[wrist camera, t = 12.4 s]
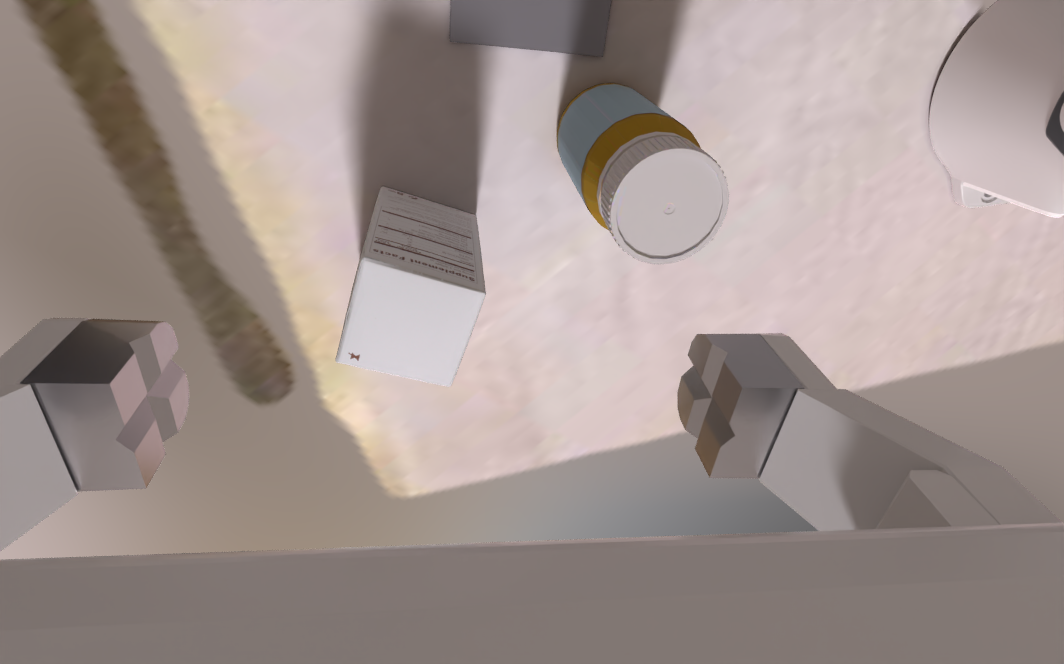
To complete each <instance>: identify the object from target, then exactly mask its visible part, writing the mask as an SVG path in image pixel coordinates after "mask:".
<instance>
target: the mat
mask: <svg viewBox="0 0 1064 664" xmlns="http://www.w3.org/2000/svg"><path fill="white" fill-rule="evenodd" d="M610 6H611V0H451V14H450V42H459V43H469V44H479V45H489V46H499V47H509V48H519V49H530V50H540V51H550V52H560V53H570V54H580V55H591V56H601V57H603V52H604V46H605V39H606V33H607V26H608V19H609V13H610Z"/></svg>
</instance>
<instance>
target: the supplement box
mask: <svg viewBox="0 0 1064 664" xmlns="http://www.w3.org/2000/svg"><path fill="white" fill-rule="evenodd" d="M485 296H486V291H485V281H484V274H483V265H482V256H481V248H480V240H479V232H478V224H477V217H476V215H474V214H470V213H467V212H464V211H461V210H458V209H454V208H451V207H448V206H445V205H442V204H438V203H436V202H432V201H429V200H426V199H423V198H420V197H417V196H413V195H410V194H407V193H404V192H400V191H397V190H394V189H391V188H387V187H384V186H382V187H381V188H380V191H379V195H378V198H377V201H376V204H375V207H374V211H373V214H372V218H371V221H370V225H369V229H368V232H367V236H366V239H365V243H364V246H363V250H362V253H361V257H360V261H359V264H358V268H357V272H356V276H355V279H354V283H353V287H352V291H351V296H350V300H349V304H348V309H347V313H346V317H345V322H344V326H343V331H342V335H341V339H340V344H339V348H338V352H337V356H336V362H337V363H342V364H347V365H351V366H355V367H359V368H363V369H368V370H373V371H377V372H382V373H386V374H391V375H396V376H400V377H404V378H409V379H414V380H418V381H423V382H427V383H432V384H436V385H441V386H447V387H450V386H451V385H452V383H453V381H454V378H455V376H456V373H457V371H458V368H459V366H460V363H461V360H462V358H463V355H464V352H465V350H466V347H467V344H468V342H469V339H470V336H471V334H472V331H473V328H474V326H475V323H476V320H477V318H478V315H479V312H480V310H481V307H482V304H483V301H484V298H485Z"/></svg>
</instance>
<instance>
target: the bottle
mask: <svg viewBox="0 0 1064 664" xmlns="http://www.w3.org/2000/svg"><path fill="white" fill-rule="evenodd" d="M557 148H558V152H559V155H560V157H561V160H562V163H563V165H564V167H565V168H566V170H567V172H568V174H569V176H570V177H571V179H572V181H573V183H574V185H575V186H576V188H577V190H578V192H579V194H580V196H581V197H582V199H583V201H584V203H585V205H586V206H587V208H588V210H589V211H590V213H591V214H592V215H593V217H594V218H595V219H596V220H597V222H598V223H599V224H600V225H601V226H603V227H604V228H606V229H607V230H609V231H610V233H611V234H612V236H613V238H614V240H615V241H616V243H617V244H618V245H619V247H620V248H622V249H623V251H624V252H626V253H627V254H628V255H629V256H632V257H633V258H635V259H637V260H639V261H642V262H645V263H650V264H669V263H674V262H678V261H681V260H684V259H686V258H688V257H690V256H692V255H694V254H695V253H697V252H698V251H700V250H701V249H702V248H703V247H705V246H706V245H707V244H708V243H709V242H710V241H711V240H712V239H713V237H714V236H715V235H716V233H717V232H718V230H719V229H720V227H721V225H722V223H723V221H724V219H725V216H726V213H727V209H728V203H729V190H728V184H727V181H726V177H725V176H724V172H723V171H722V170H721V169H720V166H719V165H718V164H717V162H716V161H715V160H714V159H713V158H712V157H711V156H710V155H708V154H707V153H706V152H704V151H703V150H702V149H701V148H700V145H699V143H698V142H697V140H696V139H695V137H694V136H693V134H692V133H691V132H690V131H689V130H688V129H687V128H686V127H685V126H684V125H682V124H681V123H679V122H678V121H677V120H675V119H674V118H672V117H671V116H670V115H668V114H667V113H665V112H664V111H663V110H661V109H660V108H659V107H657V106H656V105H654V104H653V103H652V102H650V101H649V100H647V99H646V98H645V97H643V96H642V95H640V94H639V93H638V92H636V91H635V90H634V89H631V88H630V87H627V86H624V85H620V84H617V83H606V84H598V85H595V86H593V87H590V88H588V89H586V90H584V91H582V92H581V93H580V94H579V95H577V96H576V97H575V98H574V99H573V100H572V101H571V102H570V103H569V104H568V106H567V108H566V109H565V111H564V112H563V114H562V116H561V118H560V122H559V126H558V129H557Z"/></svg>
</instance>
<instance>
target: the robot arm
mask: <svg viewBox="0 0 1064 664" xmlns="http://www.w3.org/2000/svg"><path fill="white" fill-rule="evenodd" d="M929 131H930V138H931V142H932V146H933V148H934V151H935V153H936V155H937V157H938V158H939V160H940V161H941V162H942V164H943V165H944V166H945V167H946V169H947V170H948V172H949V174H950V176H951V185H952V194H953V198H954V201H955V202H956V203H957V204H958V205H961V206H964V207H967V208H979V207H986V206H993V205H1000V204H1007V203H1013V204H1016V205H1018V206H1021V207H1024V208H1026V209H1029V210H1032V211H1035V212H1038V213H1040V214H1043V215H1046V216H1050V217H1055V218H1060V217H1062V216H1063V215H1064V0H997V1H996V2H995V3H994V4H993V5H991V6H990V7H989V8H988V9H987V10H986V11H985V12H984V13H983V14H982V15H981V16H980V17H979V18H978V19H977V20H976V21H975V22H974V23H973V25H972V26H971V27H970V28H969V29H968V30H967V32H966V33H965V34H964V36H963V37H962V38H961V40H960V41H959V42H958V44H957V45H956V47H955V48H954V50H953V52H952V53H951V55H950V57H949V58H948V60H947V62H946V64H945V66H944V68H943V70H942V72H941V74H940V77H939V79H938V82H937V85H936V87H935V90H934V94H933V98H932V102H931V108H930V116H929ZM178 348H179V346H178V343H177V339H176V336H175V333H174V329H173V328H172V327H171V326H170V325H169V324H168V323H167V322H163V321H138V320H137V321H136V320H113V319H87V318H50V319H43V320H42V321H40V322H39V323H38V324H37V325H36V326H35V327H34V328H33V329H32V330H30V331H29V332H28V333H27V334H26V335H25V336H24V337H22V338H21V339H20V340H19V341H18V342H17V343H16V344H14V346H12V347H11V348H10V349H9V350H8V351H7V352H5V353H4V354H3V355H2V356H1V357H0V551H2V550H3V549H4V548H6V547H7V546H8V545H10V544H11V543H12V542H14V541H15V540H17V539H18V538H19V537H21V536H22V535H23V534H25V533H26V532H28V531H29V530H30V529H32V528H33V527H34V526H36V525H37V524H38V523H40V522H41V521H43V520H44V519H45V518H47V517H48V516H49V515H51V514H52V513H54V512H55V511H56V510H58V509H59V508H60V507H62V506H63V505H64V504H66V503H67V502H69V501H70V500H71V499H73V498H74V497H75V496H77V495H78V493H77V491H99V490H123V489H143V488H144V489H146V488H147V486H148V485H149V483H150V481H151V479H152V478H153V476H154V474H155V473H156V471H157V469H158V467H159V466H160V464H161V462H162V460H163V459H164V457H165V455H166V452H165V449H164V445H163V442H164V441H165V440H167V439H168V438H170V437H172V436H173V435H175V434H177V433H178V432H179V430H180V428H181V426H182V425H183V423H184V421H185V419H186V414H187V409H188V404H189V385H188V381H187V376H186V372H185V371H184V370H183V369H182V368H181V367H179V366H178V365H177V364H176V363H175V362H174V361H172V360H171V358H172V357H173V355H174V353H175V352H176V351H177V349H178ZM688 356H689V358H690V360H691V362H692V364H693V367H691V368H690V369H689V370H688V371H687V372H686V373H685V374H684V375H683V376H682V377H681V381H680V385H679V389H678V412H679V416H680V420H681V422H682V424H683V426H684V428H685V430H686V431H688V432H689V433H691V434H692V435H694V436H695V437H696V438H698V440H697V443H696V446H695V450H696V452H697V454H698V456H699V458H700V460H701V462H702V464H703V466H704V468H705V470H706V472H707V474H708V475H709V477H710V478H760V479H759V481H760V482H761V483H762V484H763V485H765V486H766V487H767V488H768V489H769V490H771V491H772V492H773V493H774V494H775V495H777V496H778V497H779V498H781V500H783V501H784V502H785V503H786V504H788V505H789V506H790V507H791V508H792V509H793V510H795V511H796V512H797V513H798V514H800V515H801V516H802V517H803V518H804V519H805V520H807V521H808V522H809V523H810V524H812V525H813V526H814V527H815V528H816V529H817V530H819V531H811V532H783V533H752V534H723V535H693V536H665V537H664V536H663V537H635V538H605V539H574V540H547V541H520V542H519V541H517V542H492V543H491V542H490V543H465V544H436V545H408V546H381V547H352V548H327V549H299V550H267V551H240V552H210V553H182V554H154V555H153V554H152V555H123V556H94V557H66V558H36V559H8V560H0V664H1064V522H1062V521H1061V520H1060V519H1059V518H1058V517H1057V516H1056V515H1055V514H1053V513H1052V512H1051V511H1050V510H1049V509H1048V508H1047V507H1046V506H1045V505H1043V503H1042V502H1040V501H1039V500H1038V499H1037V498H1036V497H1035V496H1034V495H1033V494H1032V493H1031V492H1030V491H1028V490H1027V489H1026V488H1025V487H1024V486H1023V485H1022V484H1021V483H1020V482H1019V481H1018V480H1017V479H1016V478H1014V477H1013V476H1012V475H1011V474H1010V473H1009V472H1008V471H1007V470H1006V469H1005V468H1003V467H1002V466H1000V465H998V464H996V463H994V462H992V461H990V460H988V459H986V458H984V457H982V456H980V455H978V454H976V453H973V452H972V451H969V450H968V449H965V448H963V447H961V446H959V445H957V444H955V443H953V442H951V441H949V440H947V439H945V438H943V437H941V436H939V435H937V434H935V433H933V432H931V431H929V430H927V429H925V428H923V427H921V426H919V425H917V424H915V423H913V422H911V421H909V420H907V419H905V418H903V417H901V416H898V415H897V414H895V413H893V412H891V411H889V410H886V409H884V408H882V407H880V406H878V405H876V404H874V403H872V402H870V401H868V400H866V399H864V398H862V397H860V396H858V395H856V394H854V393H852V392H850V391H848V390H846V389H836V387H835V386H834V385H833V384H832V383H831V382H830V381H829V380H828V379H827V377H826V376H825V375H824V374H823V373H822V372H821V371H820V370H819V369H818V368H817V366H816V365H815V364H814V363H813V362H812V361H811V360H810V359H809V358H808V357H807V355H806V354H805V353H804V352H803V351H802V350H801V349H800V348H799V347H798V346H797V344H796V343H795V342H794V341H793V340H792V339H791V338H790V337H789V336H787V335H784V334H782V333H768V334H697V335H696V337H695V338H694V340H693V341H692V343H691V346H690V350H689V353H688Z"/></svg>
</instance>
